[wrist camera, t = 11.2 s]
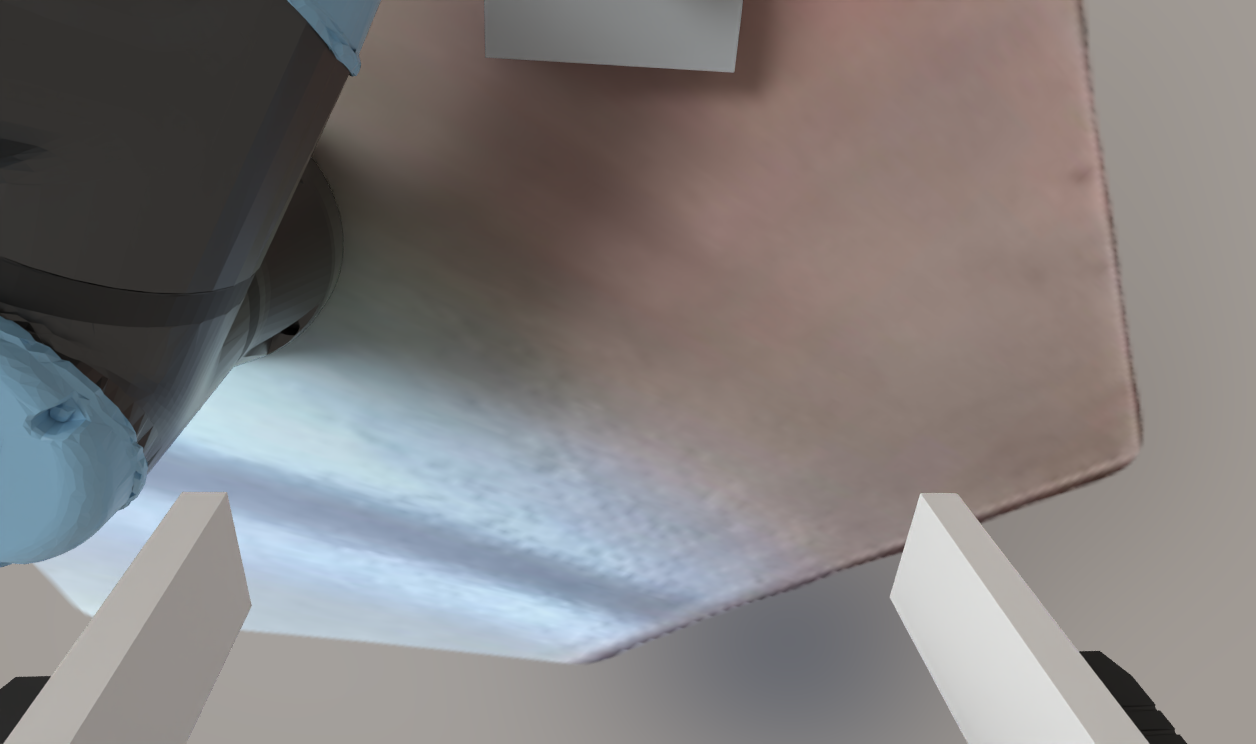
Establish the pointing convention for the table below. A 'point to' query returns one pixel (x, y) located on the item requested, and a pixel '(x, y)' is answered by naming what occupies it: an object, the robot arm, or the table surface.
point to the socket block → (616, 32)
